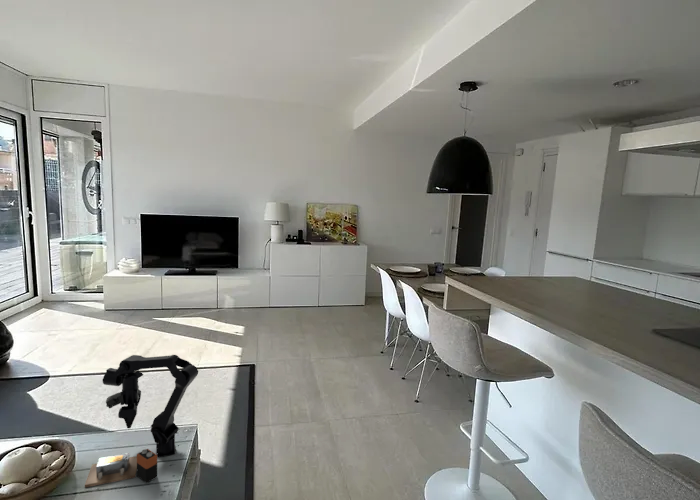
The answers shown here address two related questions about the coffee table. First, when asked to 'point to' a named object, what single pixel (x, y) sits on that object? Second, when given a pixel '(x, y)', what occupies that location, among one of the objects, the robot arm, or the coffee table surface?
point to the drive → (112, 464)
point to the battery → (146, 465)
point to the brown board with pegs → (94, 480)
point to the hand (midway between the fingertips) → (130, 422)
